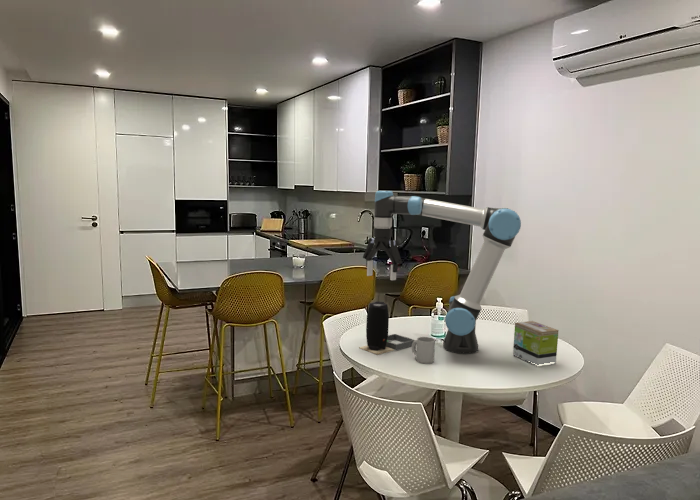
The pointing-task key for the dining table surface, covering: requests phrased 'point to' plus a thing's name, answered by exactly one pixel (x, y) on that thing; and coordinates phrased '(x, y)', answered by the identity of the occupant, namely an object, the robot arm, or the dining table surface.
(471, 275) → the robot arm
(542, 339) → the tea box
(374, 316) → the portable speaker
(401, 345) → the tray
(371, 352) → the birch board
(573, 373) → the dining table surface
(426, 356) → the cup
